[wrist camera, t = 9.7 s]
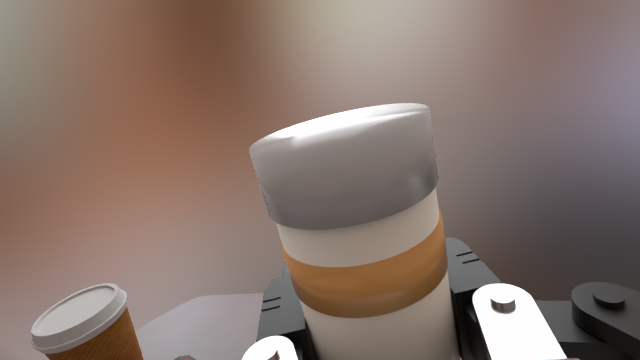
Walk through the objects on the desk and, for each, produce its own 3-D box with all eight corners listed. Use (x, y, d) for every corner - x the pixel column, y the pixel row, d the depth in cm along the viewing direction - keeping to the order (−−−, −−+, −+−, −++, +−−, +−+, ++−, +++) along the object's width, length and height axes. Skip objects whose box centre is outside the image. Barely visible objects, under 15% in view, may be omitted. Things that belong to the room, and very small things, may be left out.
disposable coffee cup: (57, 421, 40) (3, 339, 36) (120, 354, 49) (82, 282, 45) (120, 429, 37) (68, 340, 33) (176, 356, 46) (140, 279, 42)
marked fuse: (399, 618, 10) (264, 172, 6) (344, 471, 13) (240, 140, 9) (517, 538, 10) (473, 106, 6) (434, 421, 14) (375, 101, 10)
